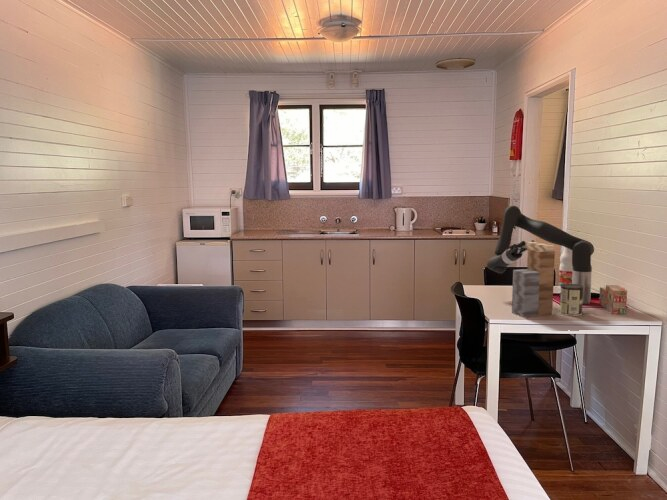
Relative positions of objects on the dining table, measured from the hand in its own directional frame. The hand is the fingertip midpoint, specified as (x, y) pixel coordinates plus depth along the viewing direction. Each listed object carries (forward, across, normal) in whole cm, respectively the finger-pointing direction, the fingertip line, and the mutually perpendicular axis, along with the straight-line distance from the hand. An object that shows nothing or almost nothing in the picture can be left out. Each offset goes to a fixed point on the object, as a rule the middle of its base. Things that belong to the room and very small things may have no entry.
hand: (529, 242), depth 262 cm
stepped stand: (-9, -4, +35) cm, 36 cm away
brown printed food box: (-6, +41, +37) cm, 55 cm away
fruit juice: (-45, +50, +14) cm, 69 cm away
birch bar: (+4, 0, +6) cm, 7 cm away
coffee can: (-5, +15, +38) cm, 41 cm away
